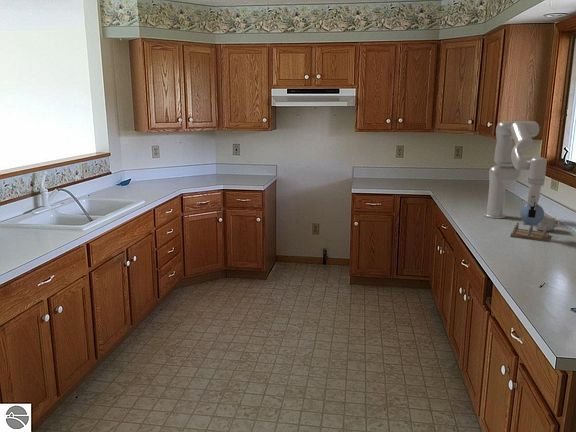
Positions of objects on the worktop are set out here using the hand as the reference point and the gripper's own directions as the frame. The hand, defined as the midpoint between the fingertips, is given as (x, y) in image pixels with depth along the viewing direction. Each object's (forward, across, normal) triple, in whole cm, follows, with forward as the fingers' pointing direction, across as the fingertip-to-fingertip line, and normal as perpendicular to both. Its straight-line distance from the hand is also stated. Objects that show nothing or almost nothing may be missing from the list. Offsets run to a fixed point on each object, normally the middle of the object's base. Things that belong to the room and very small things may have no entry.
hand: (531, 216), depth 254 cm
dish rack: (+11, -3, 0) cm, 12 cm away
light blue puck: (+5, 0, 0) cm, 5 cm away
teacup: (+11, -20, +6) cm, 24 cm away
